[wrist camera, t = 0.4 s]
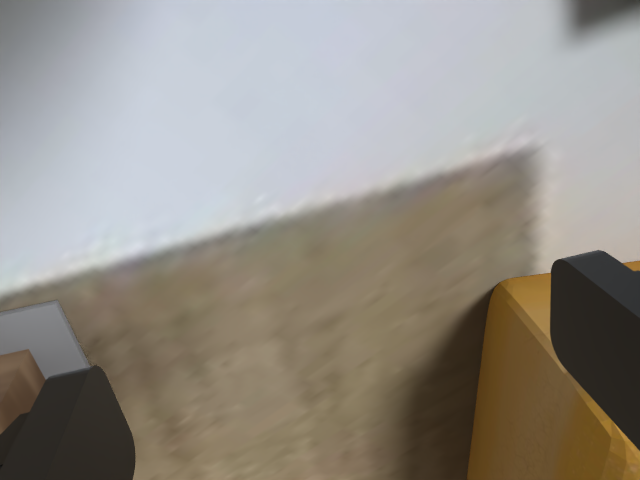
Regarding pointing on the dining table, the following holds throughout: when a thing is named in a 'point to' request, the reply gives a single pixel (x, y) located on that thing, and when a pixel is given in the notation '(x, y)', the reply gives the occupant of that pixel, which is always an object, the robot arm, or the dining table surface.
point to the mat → (42, 337)
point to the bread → (538, 400)
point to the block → (18, 385)
